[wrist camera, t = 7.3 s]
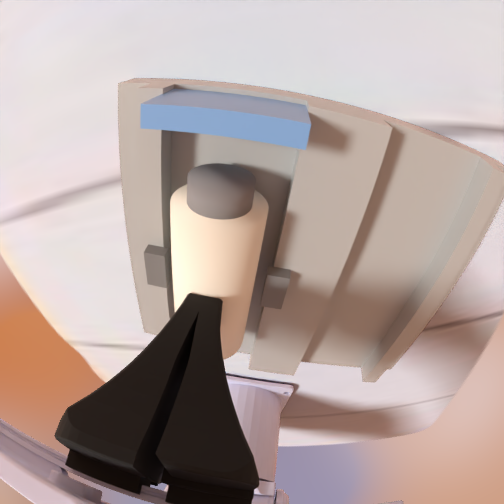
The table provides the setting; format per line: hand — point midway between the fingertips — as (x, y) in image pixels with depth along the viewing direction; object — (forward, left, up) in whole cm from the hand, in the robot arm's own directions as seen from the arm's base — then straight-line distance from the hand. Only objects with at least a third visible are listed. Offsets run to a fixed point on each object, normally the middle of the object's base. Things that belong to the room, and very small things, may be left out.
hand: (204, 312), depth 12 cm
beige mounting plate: (0, -4, -5) cm, 6 cm away
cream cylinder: (0, 0, -4) cm, 4 cm away
